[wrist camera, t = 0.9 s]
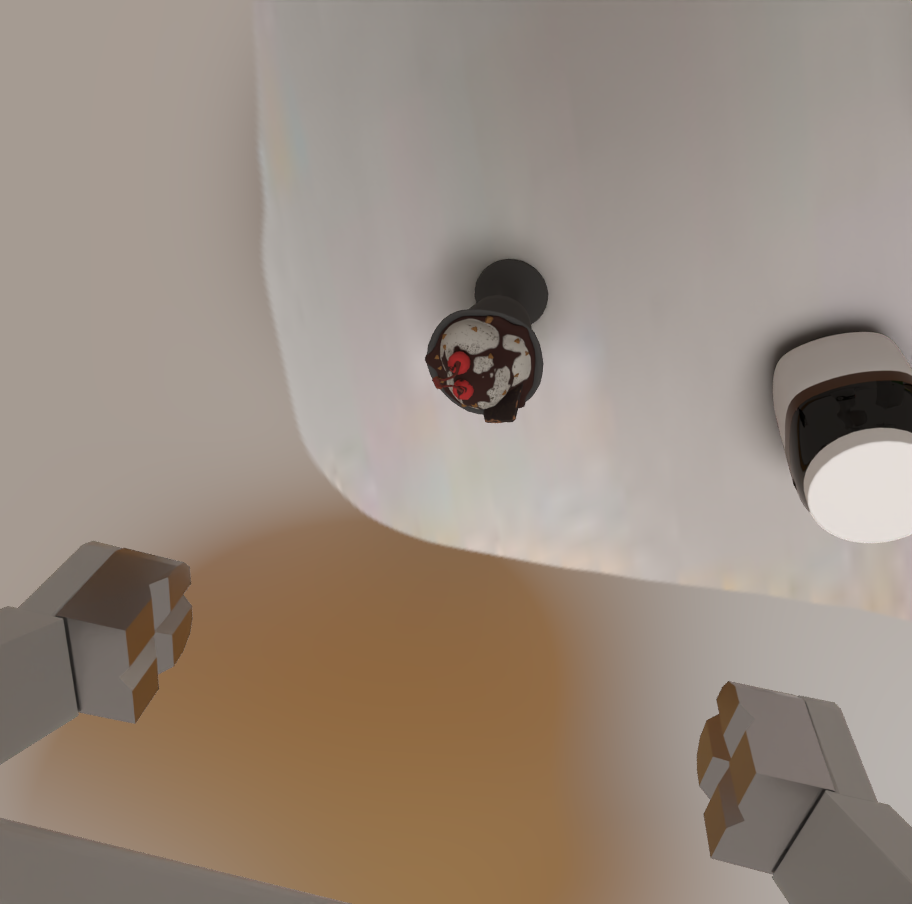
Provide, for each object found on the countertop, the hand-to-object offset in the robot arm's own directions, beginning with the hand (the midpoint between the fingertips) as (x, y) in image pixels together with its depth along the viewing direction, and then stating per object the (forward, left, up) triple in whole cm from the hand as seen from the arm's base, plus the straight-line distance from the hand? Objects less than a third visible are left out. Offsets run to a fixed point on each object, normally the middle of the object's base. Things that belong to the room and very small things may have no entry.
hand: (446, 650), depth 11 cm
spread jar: (+14, +20, -40) cm, 47 cm away
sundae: (+11, -4, -40) cm, 41 cm away
